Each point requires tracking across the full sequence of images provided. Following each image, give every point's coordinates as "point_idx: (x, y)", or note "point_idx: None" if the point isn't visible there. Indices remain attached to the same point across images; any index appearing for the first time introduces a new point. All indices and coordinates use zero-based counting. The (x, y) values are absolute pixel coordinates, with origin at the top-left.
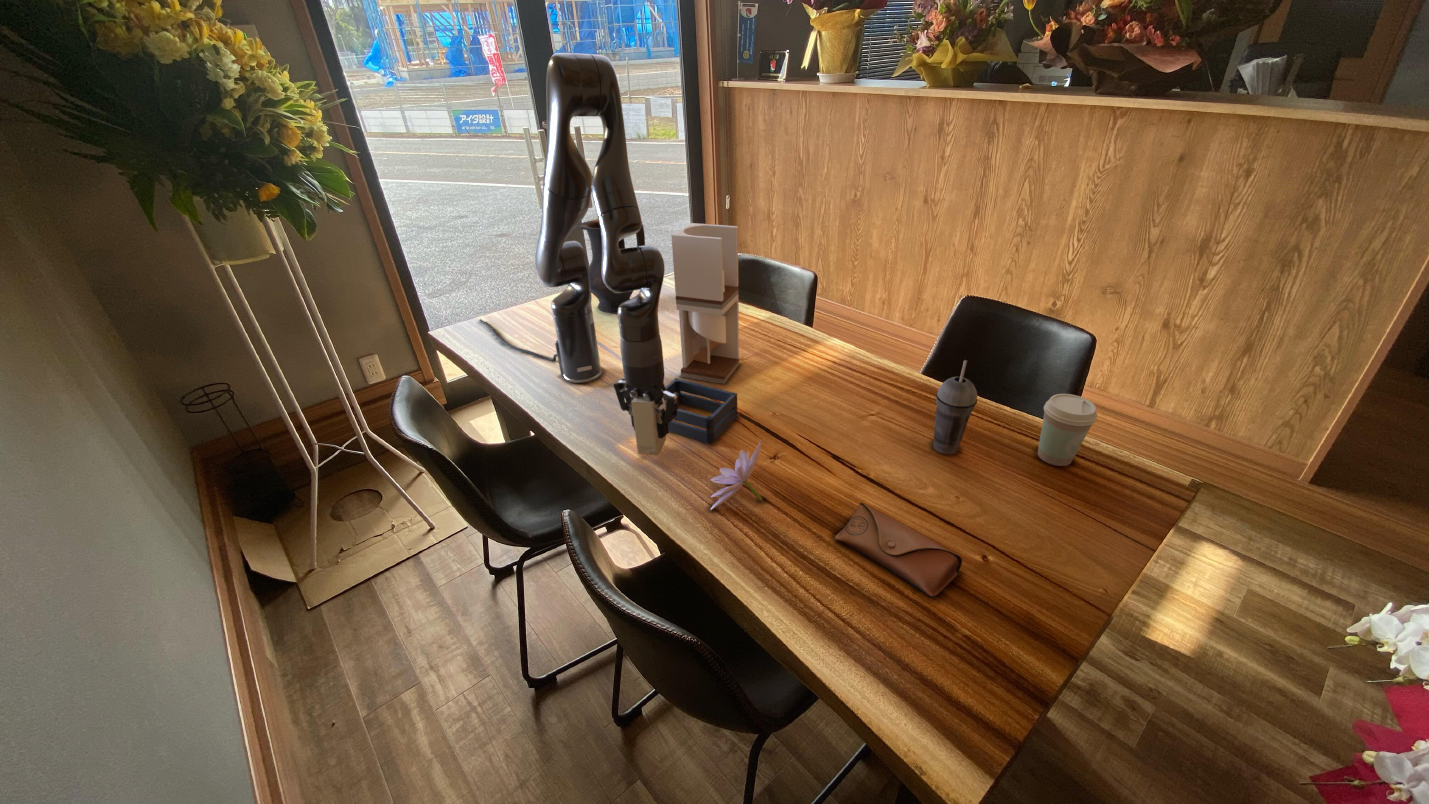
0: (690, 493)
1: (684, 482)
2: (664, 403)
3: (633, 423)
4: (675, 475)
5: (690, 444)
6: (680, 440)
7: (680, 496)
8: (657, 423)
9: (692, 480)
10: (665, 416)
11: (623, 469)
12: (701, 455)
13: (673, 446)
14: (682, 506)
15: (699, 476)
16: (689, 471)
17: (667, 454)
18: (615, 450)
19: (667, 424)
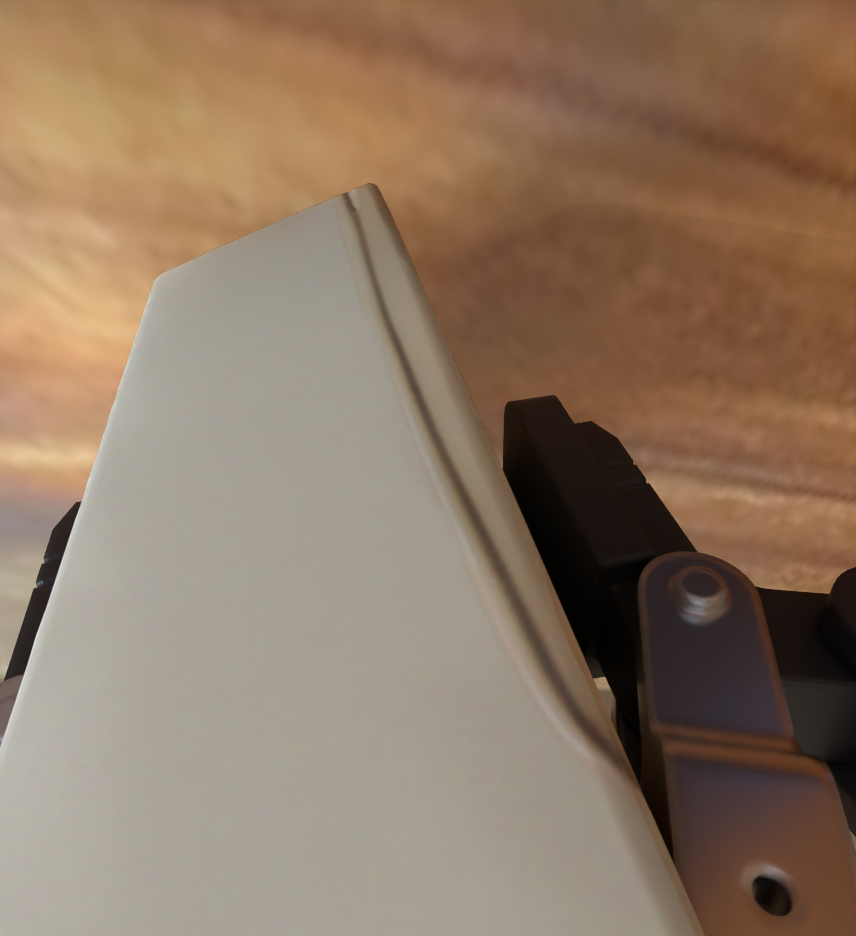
0: (814, 513)
1: (753, 471)
2: (832, 837)
3: None
4: (670, 457)
5: (627, 15)
6: (477, 6)
7: (765, 555)
8: (591, 672)
9: (799, 430)
10: (851, 815)
11: None
12: (800, 136)
13: (468, 167)
14: (796, 590)
15: (839, 375)
16: (753, 374)
17: (487, 309)
18: (42, 517)
19: (668, 526)
